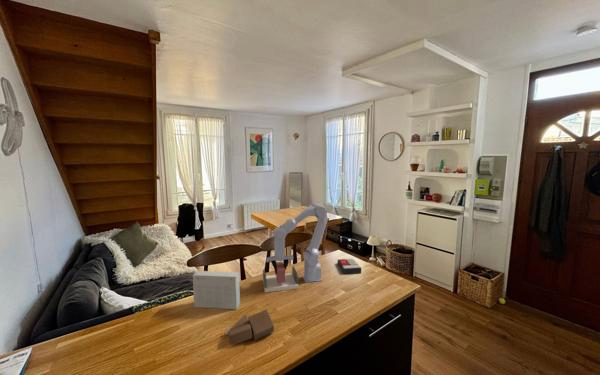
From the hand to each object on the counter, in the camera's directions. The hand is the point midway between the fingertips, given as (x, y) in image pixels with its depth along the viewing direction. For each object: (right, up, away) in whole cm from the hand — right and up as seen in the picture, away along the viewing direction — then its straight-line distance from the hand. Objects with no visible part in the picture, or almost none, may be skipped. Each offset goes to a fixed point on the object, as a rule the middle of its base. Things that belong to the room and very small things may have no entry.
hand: (279, 272), depth 137 cm
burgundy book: (0, -3, 0) cm, 3 cm away
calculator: (+42, -5, +20) cm, 47 cm away
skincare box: (-28, -9, -19) cm, 35 cm away
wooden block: (-9, -12, -36) cm, 39 cm away
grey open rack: (0, -6, +1) cm, 6 cm away
